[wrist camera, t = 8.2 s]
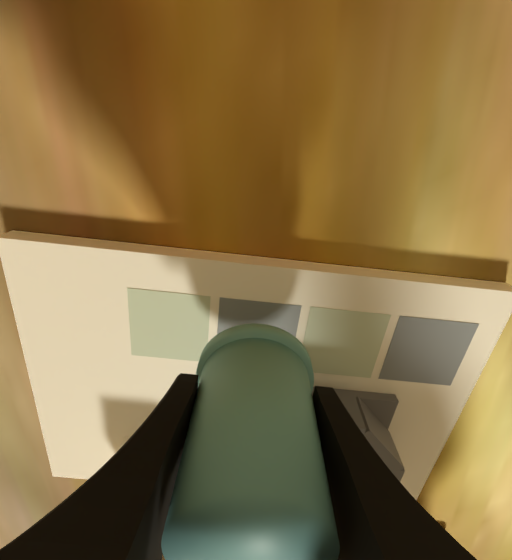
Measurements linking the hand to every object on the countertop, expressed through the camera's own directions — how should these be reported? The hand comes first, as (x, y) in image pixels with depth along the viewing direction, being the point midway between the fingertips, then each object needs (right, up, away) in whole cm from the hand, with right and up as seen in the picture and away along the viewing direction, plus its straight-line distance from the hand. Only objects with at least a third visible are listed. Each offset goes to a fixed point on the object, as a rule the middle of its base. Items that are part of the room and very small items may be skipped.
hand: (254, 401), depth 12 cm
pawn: (0, +1, +1) cm, 2 cm away
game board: (0, -1, +6) cm, 6 cm away
